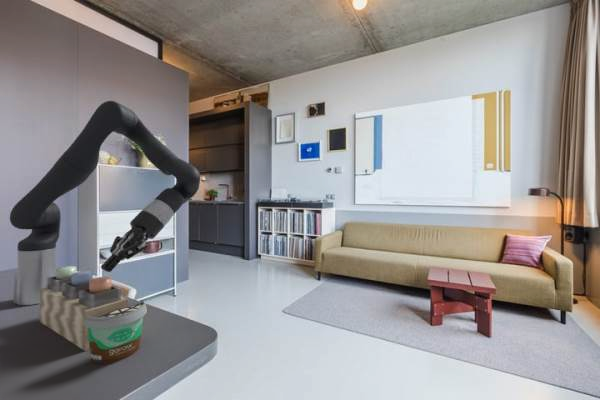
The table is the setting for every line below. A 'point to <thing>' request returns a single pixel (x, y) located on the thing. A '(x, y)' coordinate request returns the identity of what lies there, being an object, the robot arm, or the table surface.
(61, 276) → the sage button
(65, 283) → the button console
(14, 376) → the table surface
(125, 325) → the food container
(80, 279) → the slate button
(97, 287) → the peach rounded knob
